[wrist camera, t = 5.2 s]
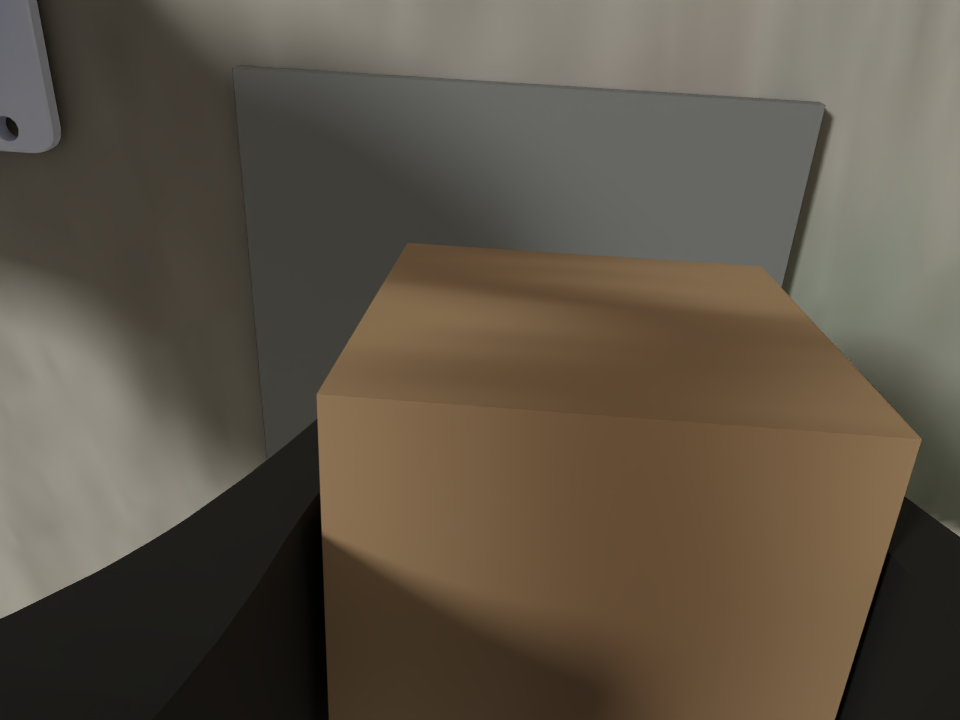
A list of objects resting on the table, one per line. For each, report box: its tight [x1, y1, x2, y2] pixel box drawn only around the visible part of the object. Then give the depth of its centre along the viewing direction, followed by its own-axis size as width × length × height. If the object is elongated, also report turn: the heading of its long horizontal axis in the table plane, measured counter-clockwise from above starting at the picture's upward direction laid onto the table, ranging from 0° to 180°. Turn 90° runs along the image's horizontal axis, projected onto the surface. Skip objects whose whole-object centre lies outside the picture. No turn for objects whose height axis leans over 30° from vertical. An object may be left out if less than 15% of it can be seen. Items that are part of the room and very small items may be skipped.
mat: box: [232, 66, 825, 460], centre depth 18 cm, size 12×10×1 cm
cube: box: [317, 243, 922, 720], centre depth 10 cm, size 5×5×5 cm
